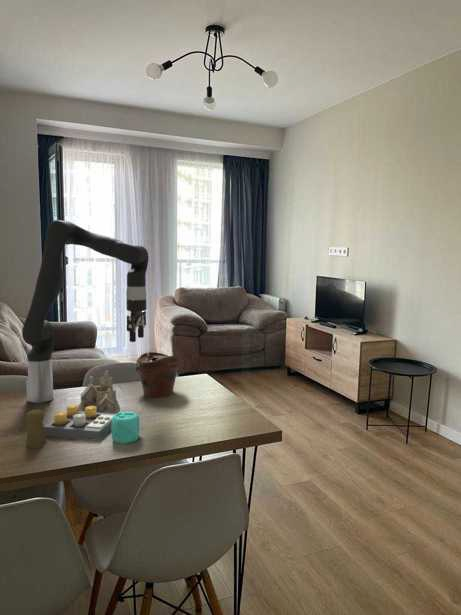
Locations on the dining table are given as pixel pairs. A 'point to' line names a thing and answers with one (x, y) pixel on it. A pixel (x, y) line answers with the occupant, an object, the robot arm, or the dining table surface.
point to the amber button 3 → (91, 411)
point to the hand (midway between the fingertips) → (136, 339)
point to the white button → (79, 420)
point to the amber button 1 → (60, 418)
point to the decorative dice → (125, 427)
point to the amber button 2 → (72, 410)
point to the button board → (82, 427)
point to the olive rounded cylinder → (35, 429)
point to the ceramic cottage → (100, 396)
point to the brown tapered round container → (157, 373)
